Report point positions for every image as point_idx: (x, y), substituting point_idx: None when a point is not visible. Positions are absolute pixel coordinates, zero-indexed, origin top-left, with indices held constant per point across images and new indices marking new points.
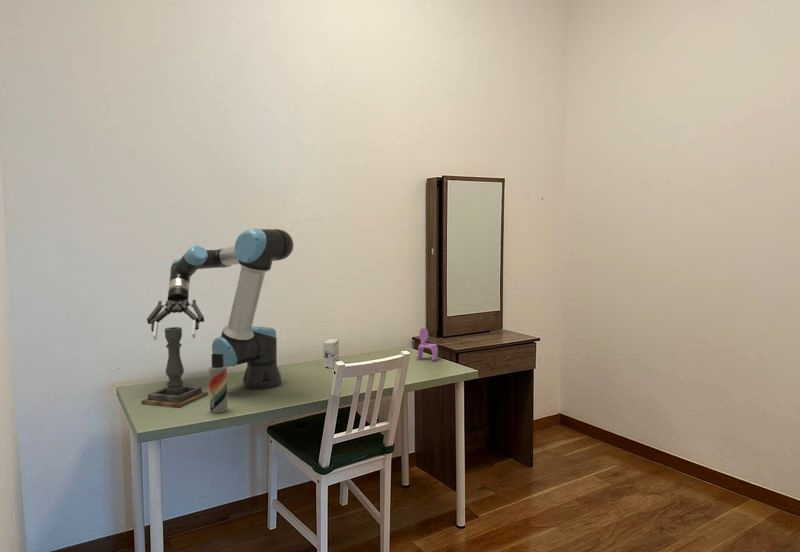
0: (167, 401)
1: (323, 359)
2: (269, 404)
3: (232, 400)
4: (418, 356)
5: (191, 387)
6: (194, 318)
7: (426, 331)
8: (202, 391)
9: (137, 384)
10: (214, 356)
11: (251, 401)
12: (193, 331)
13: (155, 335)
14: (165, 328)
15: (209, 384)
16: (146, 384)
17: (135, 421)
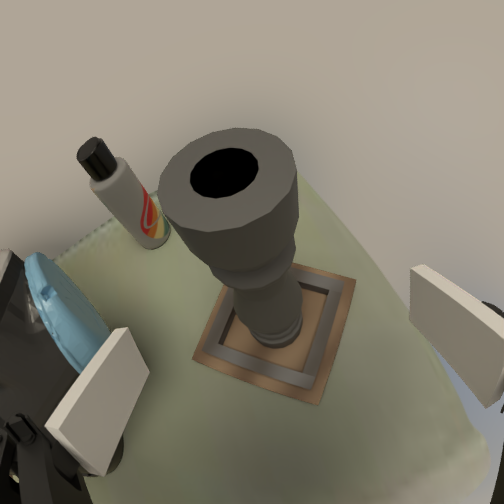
0: None
1: None
2: (76, 270)
3: (132, 303)
4: None
5: (233, 352)
6: (45, 451)
7: None
8: (207, 364)
9: (444, 462)
10: (98, 138)
11: (99, 292)
12: (112, 340)
13: (414, 278)
14: (295, 166)
15: (144, 189)
16: (420, 468)
17: (304, 178)
